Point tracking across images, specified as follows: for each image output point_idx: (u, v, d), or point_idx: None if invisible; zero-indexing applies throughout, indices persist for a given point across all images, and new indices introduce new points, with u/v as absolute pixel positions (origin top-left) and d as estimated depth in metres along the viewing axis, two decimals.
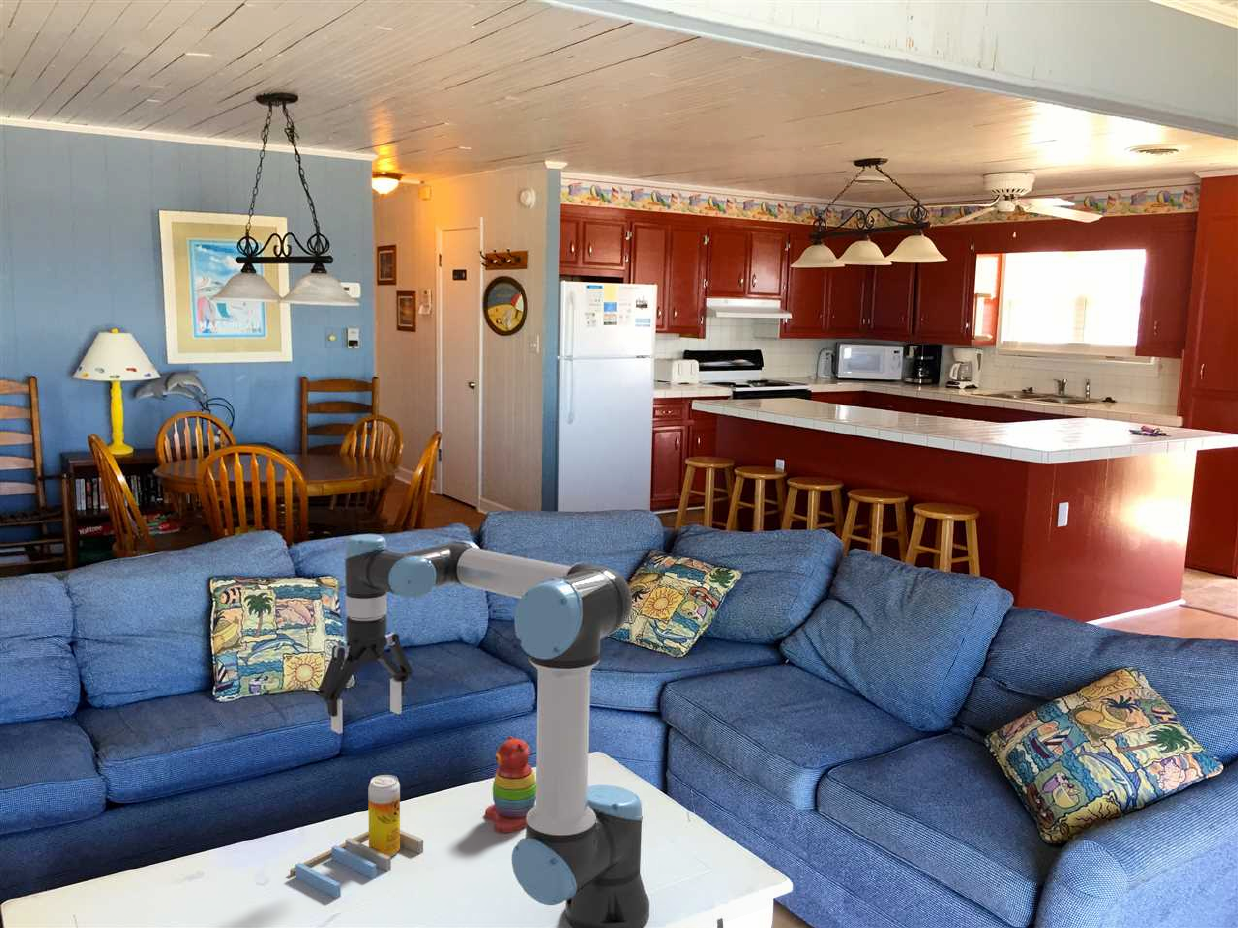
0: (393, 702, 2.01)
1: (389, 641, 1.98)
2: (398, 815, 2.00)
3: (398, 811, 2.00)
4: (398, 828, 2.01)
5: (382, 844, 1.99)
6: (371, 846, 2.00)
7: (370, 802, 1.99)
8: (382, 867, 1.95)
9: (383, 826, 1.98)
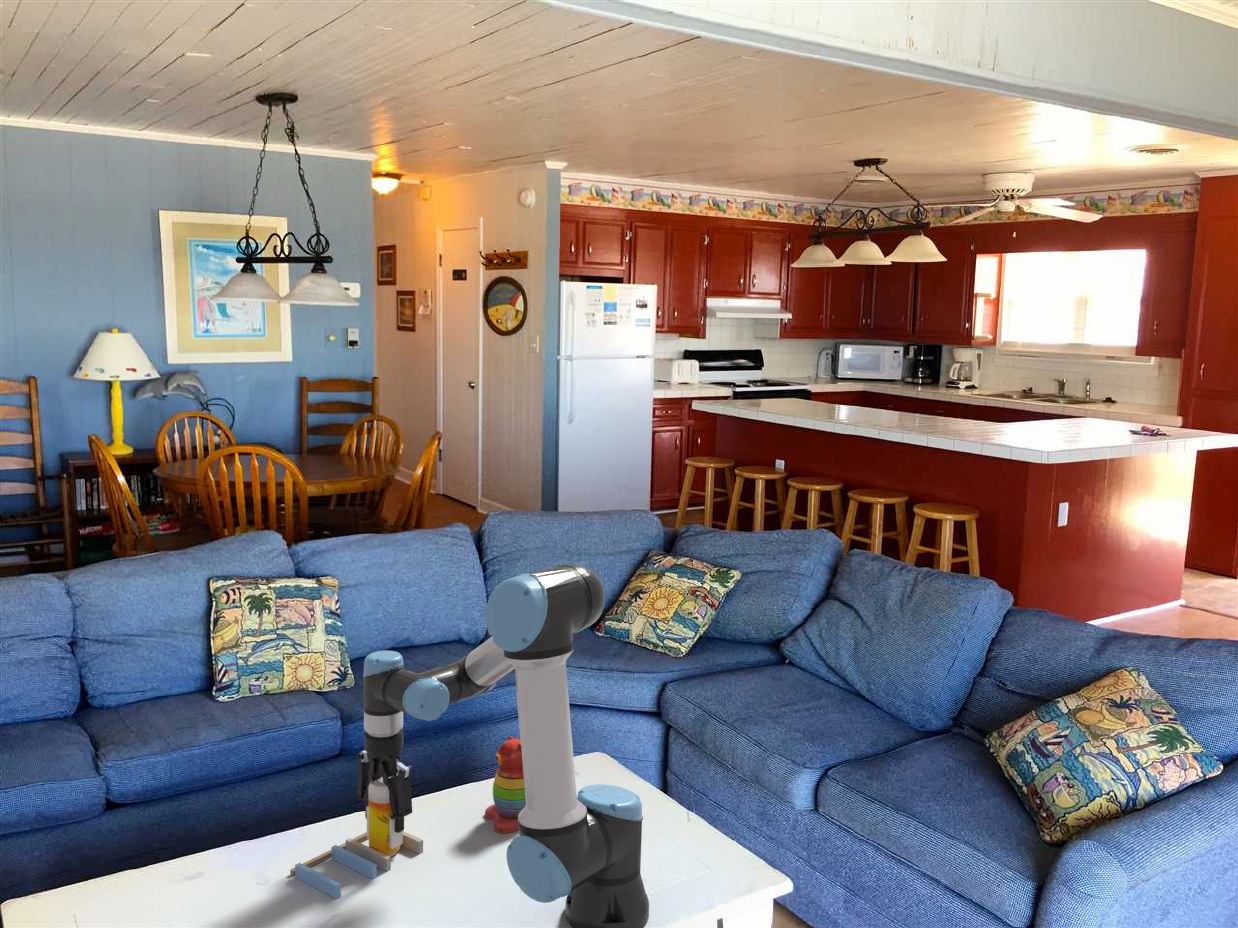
0: None
1: (398, 770, 1.97)
2: None
3: None
4: None
5: (382, 844, 1.99)
6: (371, 846, 2.00)
7: (370, 802, 1.99)
8: (382, 867, 1.95)
9: (383, 826, 1.98)
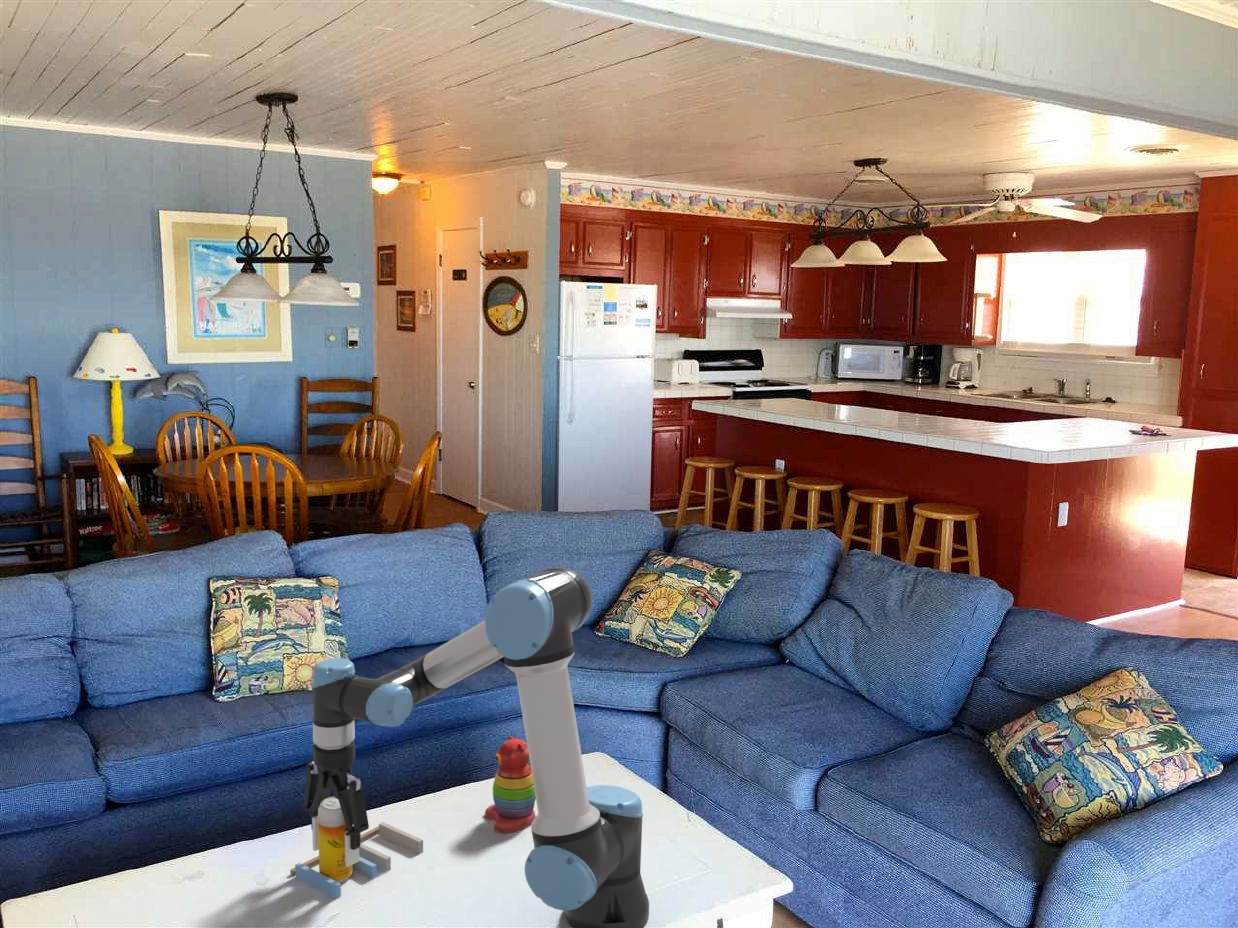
0: None
1: None
2: None
3: None
4: None
5: (332, 869, 1.89)
6: (321, 871, 1.90)
7: (320, 825, 1.89)
8: (382, 867, 1.95)
9: (333, 851, 1.88)
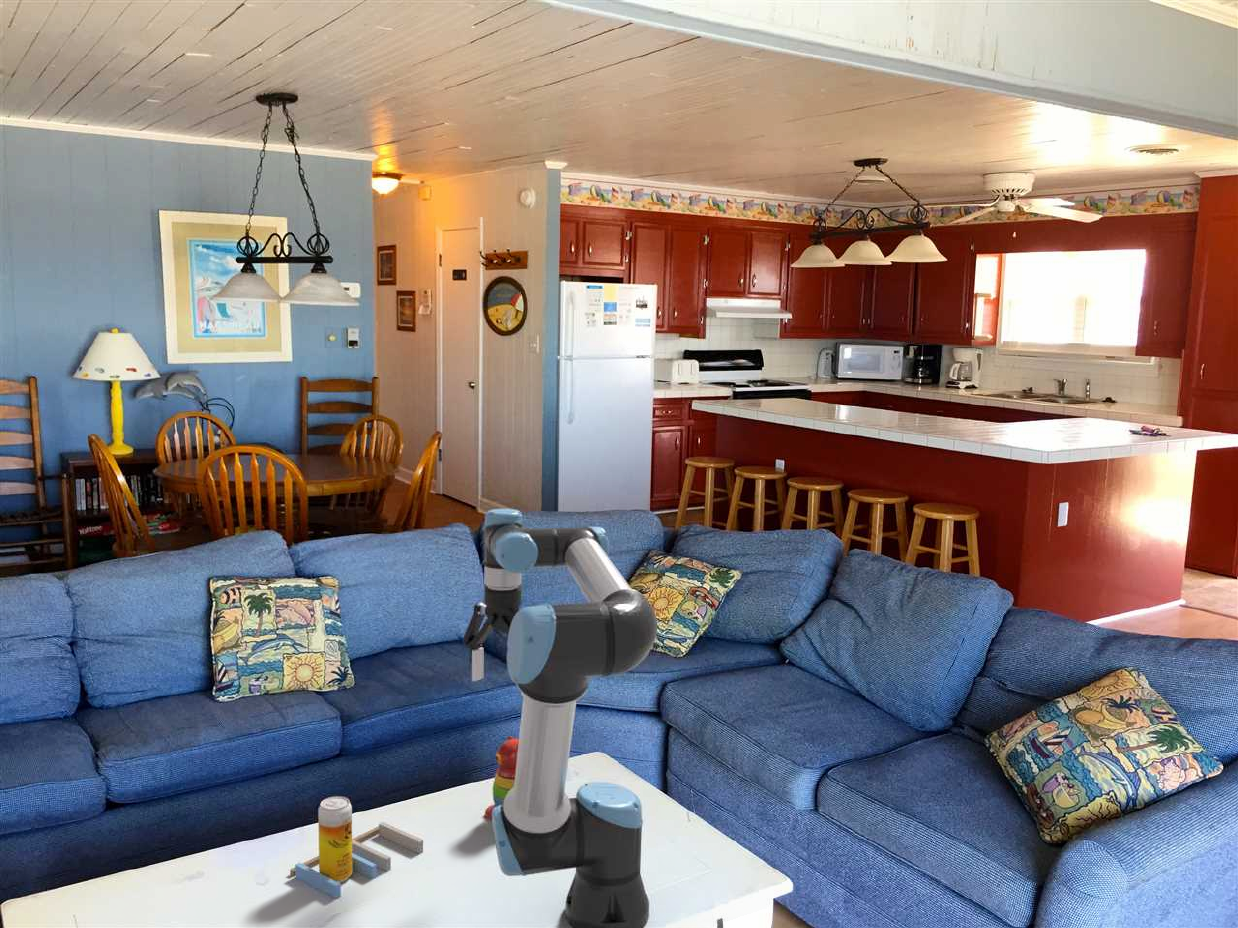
0: None
1: None
2: (350, 839, 1.91)
3: (349, 834, 1.90)
4: (350, 852, 1.91)
5: (332, 870, 1.89)
6: (321, 871, 1.90)
7: (320, 825, 1.89)
8: (382, 867, 1.95)
9: (333, 851, 1.88)
